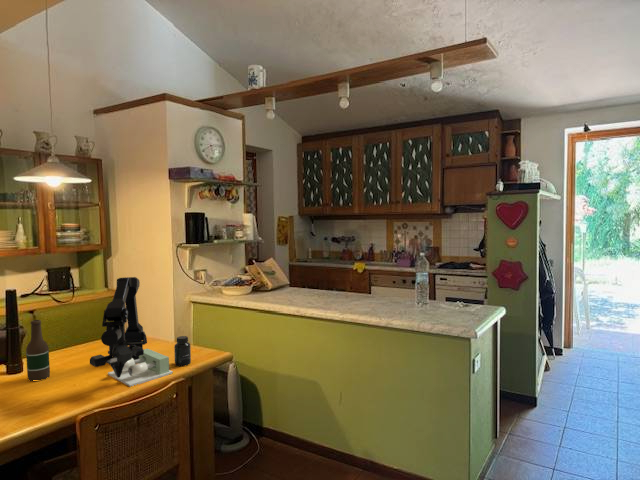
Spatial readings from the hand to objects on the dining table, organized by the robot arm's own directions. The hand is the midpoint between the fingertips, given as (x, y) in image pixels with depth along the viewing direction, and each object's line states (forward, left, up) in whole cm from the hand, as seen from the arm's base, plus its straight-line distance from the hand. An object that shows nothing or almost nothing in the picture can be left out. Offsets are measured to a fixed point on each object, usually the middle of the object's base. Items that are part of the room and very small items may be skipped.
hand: (118, 377), depth 170 cm
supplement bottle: (-1, +29, -3) cm, 29 cm away
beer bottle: (-32, -18, -3) cm, 37 cm away
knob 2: (0, +11, -1) cm, 11 cm away
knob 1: (-9, +10, -1) cm, 13 cm away
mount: (-4, +12, -3) cm, 13 cm away
